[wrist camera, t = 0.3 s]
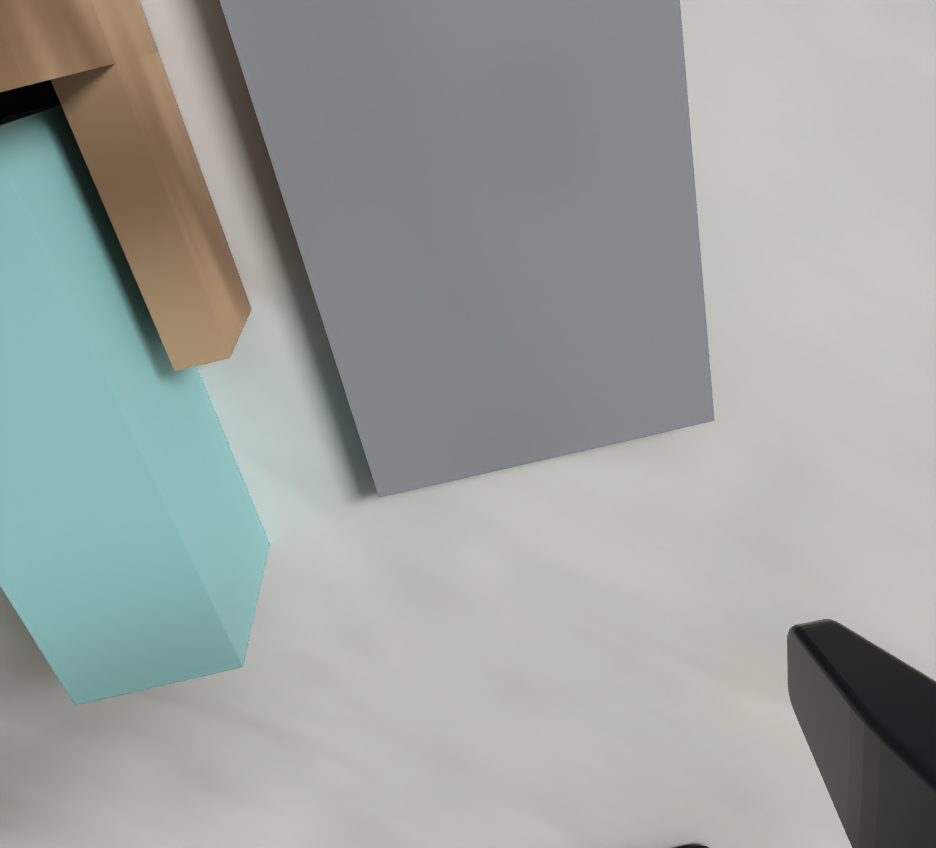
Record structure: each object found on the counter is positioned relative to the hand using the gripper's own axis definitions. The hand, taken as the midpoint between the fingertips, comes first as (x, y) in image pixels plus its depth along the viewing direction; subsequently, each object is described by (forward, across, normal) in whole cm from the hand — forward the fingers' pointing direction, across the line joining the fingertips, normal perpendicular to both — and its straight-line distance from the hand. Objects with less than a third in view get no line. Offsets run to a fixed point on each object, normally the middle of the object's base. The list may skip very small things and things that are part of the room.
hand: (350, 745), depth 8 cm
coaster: (+13, -3, -2) cm, 14 cm away
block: (+14, +7, 0) cm, 15 cm away
